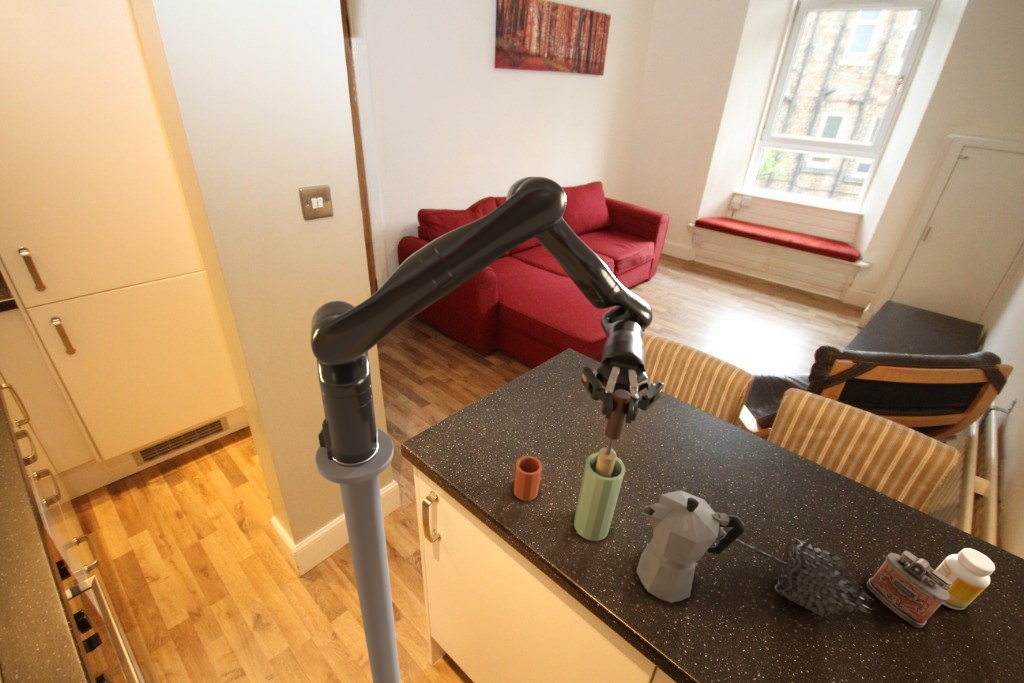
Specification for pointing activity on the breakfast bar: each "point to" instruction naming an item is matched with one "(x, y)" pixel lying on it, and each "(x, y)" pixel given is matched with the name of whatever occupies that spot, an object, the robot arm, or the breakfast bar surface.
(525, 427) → the breakfast bar surface
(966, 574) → the supplement bottle
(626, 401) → the bottle brush
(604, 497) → the vase
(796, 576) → the massage brush
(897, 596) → the lighter
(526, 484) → the pot
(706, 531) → the coffeepot
